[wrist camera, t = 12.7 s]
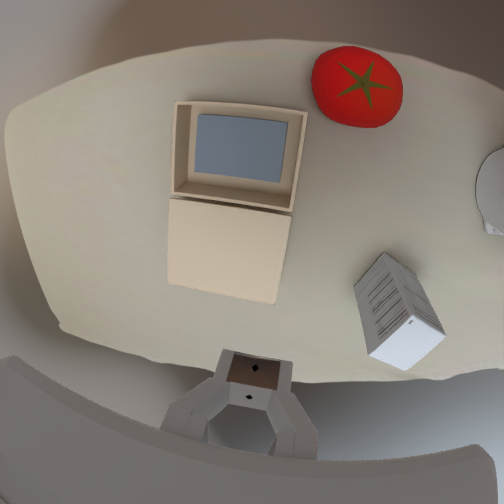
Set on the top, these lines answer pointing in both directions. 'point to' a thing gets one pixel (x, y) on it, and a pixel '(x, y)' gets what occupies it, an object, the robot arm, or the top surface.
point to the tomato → (356, 87)
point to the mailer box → (237, 153)
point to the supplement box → (396, 314)
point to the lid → (226, 249)
